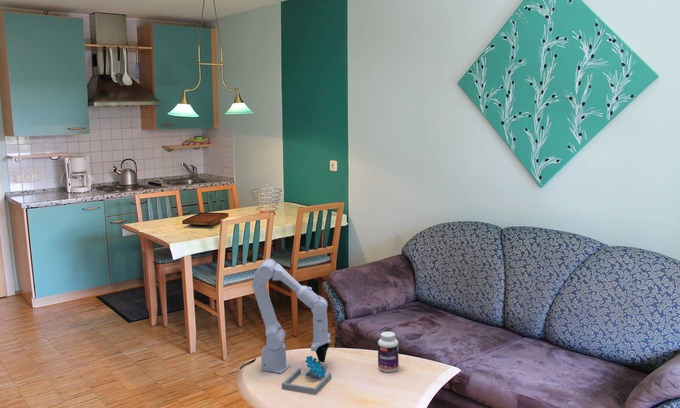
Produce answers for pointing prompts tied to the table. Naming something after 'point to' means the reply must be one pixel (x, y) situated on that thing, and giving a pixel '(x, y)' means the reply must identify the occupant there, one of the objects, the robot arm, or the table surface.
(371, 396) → the table surface
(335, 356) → the table surface
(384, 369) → the pill bottle
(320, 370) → the gear
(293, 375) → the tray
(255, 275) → the robot arm
